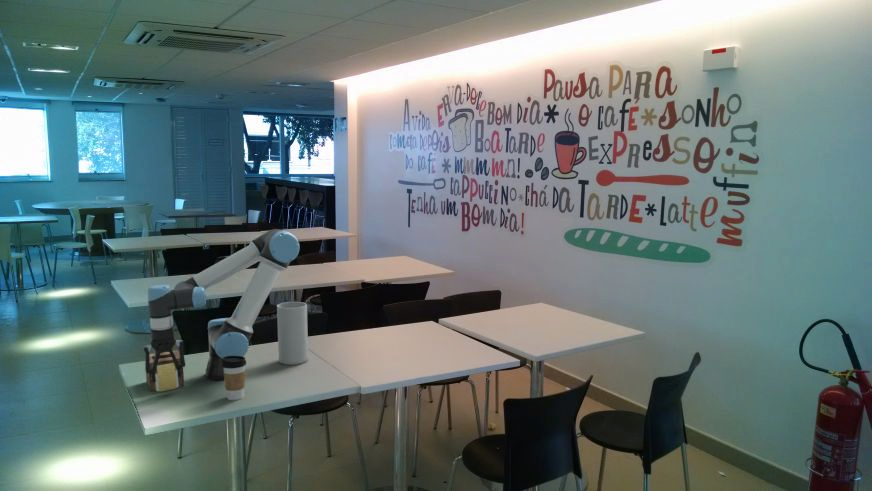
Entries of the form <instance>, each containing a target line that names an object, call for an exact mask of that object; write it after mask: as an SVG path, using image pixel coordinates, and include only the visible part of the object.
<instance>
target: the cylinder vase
mask: <svg viewBox="0 0 872 491" xmlns="http://www.w3.org/2000/svg"><path fill="white" fill-rule="evenodd" d="M276 314H277V317H276V320H277V342H278V346H277V348H278V362H279V363H280V364H282V365H285V366H286V365H287V366H295V365H300V364H304V363H306V362H307V361H308V359H309V344H308V343H309V342H308V340H309V337H308V336H309V335H308V334H309V333H308V304H307V303H306V302H303V301H302V302H301V301H287V302H280V303H279V304H277V305H276Z"/></svg>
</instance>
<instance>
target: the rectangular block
mask: <svg viewBox="0 0 872 491" xmlns="http://www.w3.org/2000/svg"><path fill="white" fill-rule="evenodd" d="M156 371H157V374H158V384H159V391H158V392H165V391H166V392H167V391H171V390H175V389H177V388H178V387H177V385H176V373H175V364H174V363H170V364H164V365H158V366H157V368H156Z"/></svg>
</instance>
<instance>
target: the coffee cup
mask: <svg viewBox="0 0 872 491" xmlns="http://www.w3.org/2000/svg"><path fill="white" fill-rule="evenodd" d="M246 365H247V361H246V357H245V356H226V357H224V358H223V360H222V367H223V369H224V371H223V373H224V380H223V381H224V385H225V392H226V399H227V400H228V401H239V400H242V399H243V398H244V397H245V384H246V382H245V381H246Z"/></svg>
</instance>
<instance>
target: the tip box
mask: <svg viewBox="0 0 872 491" xmlns="http://www.w3.org/2000/svg"><path fill="white" fill-rule="evenodd" d="M173 353H174V355H175V357H176V359H177V361H178V363H179V364H181V361H180V355H179V349H177V350H173ZM149 356H150V369H152V365H153V361H154V357H155V352H154V353H149ZM170 363H174V361H173V359H172V357H171V355H170V353H169V352H164V353H160V356H159V360H158V364H157V366H158V365H164V364H170ZM175 368H176V366H175ZM180 371H181V377H179V378H178V384H179V387H184V386H185V379H184V376H185V375H184V367H182V368H181V369H180ZM156 372H157V371H156ZM145 378H146V384H147V387H148V390H149V392H154V391H157V390H156V383H155V382H152V376H151V374H150V373H146V372H145Z"/></svg>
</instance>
